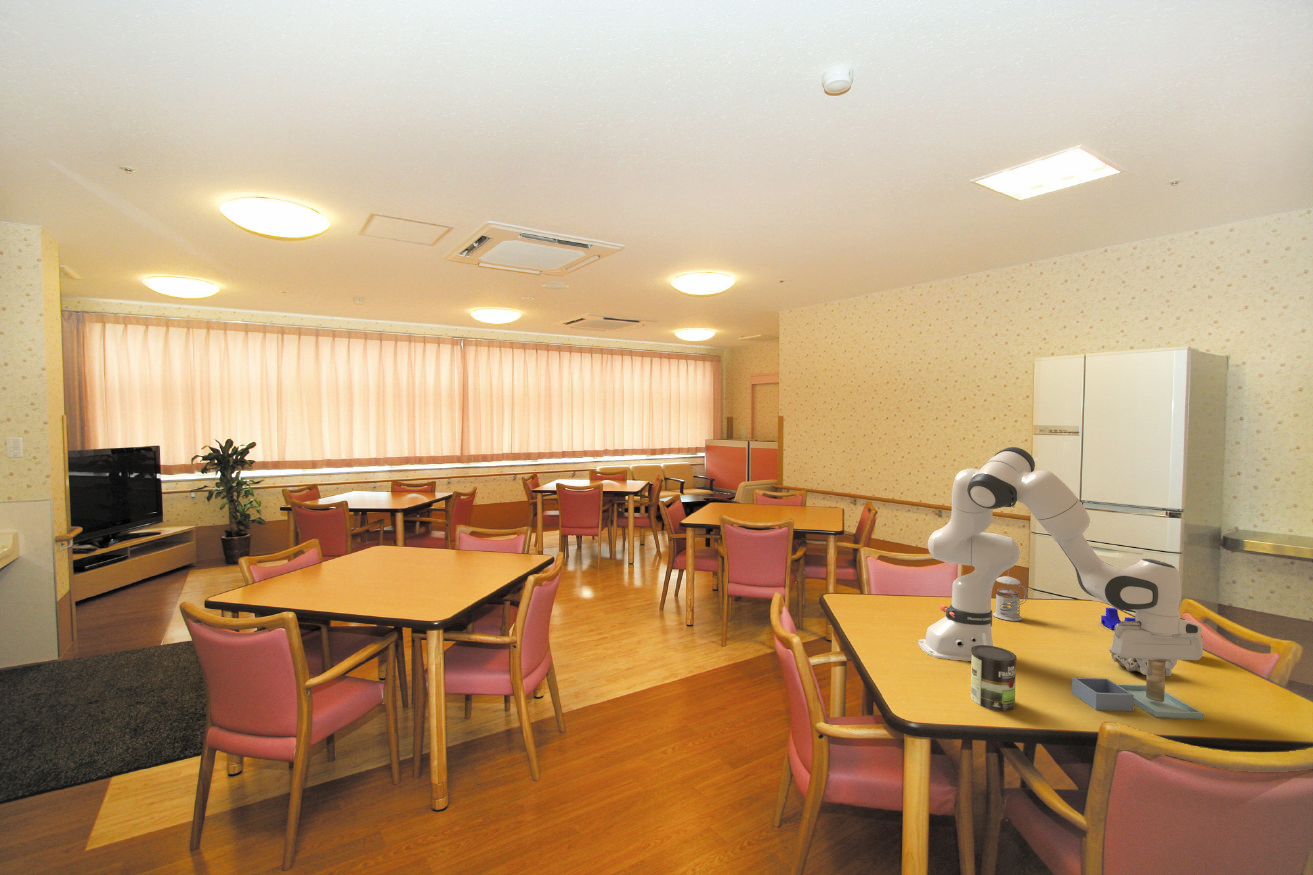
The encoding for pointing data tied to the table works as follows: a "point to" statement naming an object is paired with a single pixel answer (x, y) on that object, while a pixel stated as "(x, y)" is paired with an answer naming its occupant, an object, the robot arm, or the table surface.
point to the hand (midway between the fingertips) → (1155, 674)
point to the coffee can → (993, 677)
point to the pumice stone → (1127, 662)
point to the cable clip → (1113, 618)
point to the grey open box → (1102, 694)
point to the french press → (1008, 600)
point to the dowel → (1156, 680)
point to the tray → (1162, 704)
